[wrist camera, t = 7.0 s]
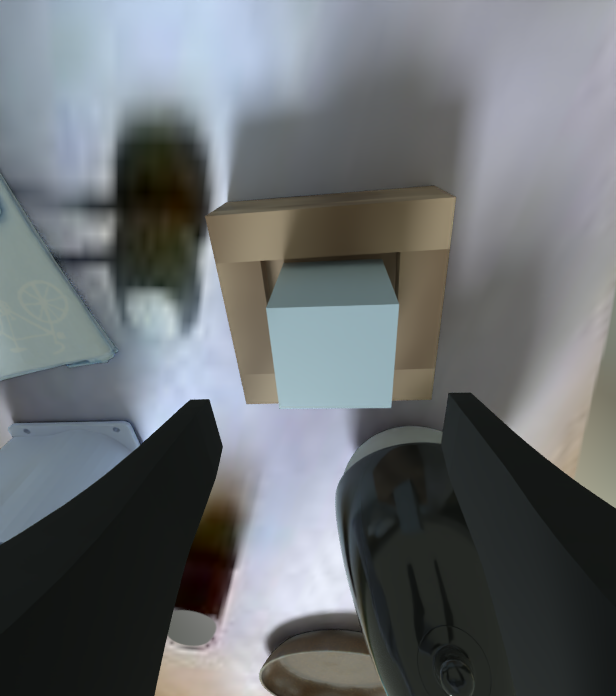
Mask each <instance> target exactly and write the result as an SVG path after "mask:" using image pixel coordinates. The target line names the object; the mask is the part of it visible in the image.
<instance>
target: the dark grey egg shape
mask: <svg viewBox="0 0 616 696" xmlns="http://www.w3.org/2000/svg"><path fill="white" fill-rule="evenodd" d="M442 433H443V432H441V431H439V430H436V429H432V428H427V427H421V426H403V427H397V428H392V429H389V430H386V431H383V432H381V433H378V434H377V435H375V436H373V437H371V438H370V439H368V440H367V441H366V442H364V443H363V444H362V445H361V446H360V447H359V448H358V449H357V450H356V452H355V453H354V454H353V456H352V457H351V459H350V461H349V463H348V465H347V467H346V469H345V472H344V475H343V476H342V478H341V480H340V481H339V484H338V486H337V490H336V496H335V510H336V521H337V528H338V534H339V541H340V546H341V552H342V557H343V562H344V567H345V571H346V575H347V580H348V583H349V587H350V591H351V595H352V598H353V602H354V606H355V609H356V613H357V616H358V620H359V623H360V626H361V630H362V633H363V636H364V639H365V642H366V645H367V648H368V651H369V654H370V657H371V659H372V662H373V664H374V667H375V670H376V672H377V675H378V677H379V679H380V682H381V684H382V686H383V688H384V690H385V693H386V695H387V696H516V692H515V688H514V684H513V680H512V676H511V671H510V667H509V663H508V659H507V655H506V651H505V647H504V643H503V640H502V636H501V632H500V628H499V624H498V621H497V617H496V613H495V609H494V606H493V602H492V598H491V595H490V591H489V588H488V584H487V580H486V577H485V573H484V570H483V567H482V564H481V561H480V558H479V555H478V552H477V549H476V547H475V544H474V542H473V539H472V536H471V534H470V531H469V529H468V526H467V523H466V521H465V518H464V515H463V513H462V510H461V508H460V505H459V502H458V500H457V497H456V494H455V492H454V489H453V486H452V484H451V481H450V478H449V475H448V471H447V467H446V463H445V459H444V455H443V451H442V446H441V440H442Z"/></svg>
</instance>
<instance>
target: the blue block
mask: <svg viewBox="0 0 616 696" xmlns="http://www.w3.org/2000/svg"><path fill="white" fill-rule="evenodd" d="M266 312H267V319H268V327H269V334H270V342H271V349H272V356H273V364H274V371H275V379H276V386H277V394H278V401H279V409H313V408H391V405H392V392H393V378H394V365H395V352H396V339H397V326H398V313H399V302H398V300H397V297H396V295H395V292H394V289H393V287H392V284H391V281H390V279H389V276H388V274H387V271H386V268H385V266H384V263H383V260H382V259H365V260H341V261H316V262H292V263H283V266H282V268H281V271H280V273H279V276H278V279H277V281H276V284H275V286H274V289H273V292H272V294H271V297H270V299H269V302H268V305H267V307H266Z"/></svg>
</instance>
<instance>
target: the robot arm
mask: <svg viewBox="0 0 616 696" xmlns="http://www.w3.org/2000/svg"><path fill="white" fill-rule="evenodd" d="M8 431H9V433H10V434H11V435H12V437H13V438H12V439H11V440H10V441H9V442H7V443H6V444H5V445H4V446H3V447H2V448H1V449H0V696H154V695H155V690H156V685H157V680H158V676H159V671H160V666H161V662H162V657H163V652H164V648H165V643H166V639H167V634H168V630H169V626H170V622H171V618H172V613H173V609H174V605H175V601H176V597H177V593H178V590H179V586H180V582H181V578H182V574H183V571H184V567H185V563H186V560H187V557H188V554H189V551H190V548H191V545H192V542H193V540H194V537H195V534H196V531H197V529H198V526H199V523H200V520H201V518H202V515H203V512H204V509H205V507H206V504H207V501H208V498H209V496H210V493H211V490H212V487H213V484H214V481H215V479H216V475H217V471H218V467H219V462H220V457H221V453H222V448H223V446H222V442H221V439H220V435H219V432H218V428H217V425H216V421H215V418H214V414H213V411H212V407H211V404H210V400H209V399H201V400H190V401H188V402H187V403H186V404H185V405H184V406H183V407H182V408H180V409H179V410H178V411H177V412H176V413H175V414H174V415H173V416H172V417H171V418H170V419H168V420H167V421H166V422H165V423H164V424H163V425H162V426H161V427H160V428H159V429H158V430H156V431H155V432H154V433H153V434H152V435H151V436H150V437H149V438H148V439H147V440H145V441H144V442H143V443H142V444H141V445H140V443H139V441H138V439H137V437H136V435H135V432H134V430H133V428H132V426H131V424H130V423H128V422H126V421H107V422H57V423H14V424H12V425H11V426H10V427H8ZM441 446H442V451H443V455H444V459H445V463H446V467H447V471H448V475H449V478H450V481H451V484H452V486H453V489H454V492H455V494H456V497H457V500H458V502H459V505H460V508H461V510H462V513H463V515H464V518H465V521H466V523H467V526H468V529H469V531H470V534H471V536H472V539H473V542H474V544H475V547H476V549H477V552H478V555H479V558H480V561H481V564H482V567H483V570H484V573H485V577H486V580H487V584H488V588H489V591H490V595H491V598H492V602H493V606H494V609H495V613H496V617H497V621H498V624H499V628H500V632H501V636H502V640H503V643H504V647H505V651H506V655H507V659H508V663H509V667H510V671H511V676H512V680H513V684H514V688H515V692H516V696H616V508H614V507H613V506H611V505H610V504H608V503H607V502H605V501H604V500H602V499H601V498H599V497H598V496H596V495H595V494H593V493H592V492H591V491H589V490H588V489H586V488H585V487H583V486H582V485H580V484H579V483H578V482H576V481H575V480H574V479H572V478H571V477H569V476H568V475H567V474H565V473H564V472H563V471H561V470H560V469H559V468H558V467H556V466H555V465H554V464H552V463H551V462H550V461H549V460H547V459H546V458H545V457H543V456H542V455H541V454H540V453H539V452H537V451H536V450H535V449H534V448H532V447H531V446H530V445H529V444H528V443H526V442H525V441H524V440H523V439H522V438H521V437H519V436H518V435H517V434H516V433H515V432H514V431H512V430H511V429H510V428H509V427H508V426H507V425H506V424H505V423H503V422H502V421H501V420H500V419H499V418H498V417H497V416H496V415H495V414H493V413H492V412H491V411H490V410H489V409H488V408H487V407H486V406H485V405H484V404H483V403H481V402H480V401H479V400H478V399H477V398H476V397H475V396H474V395H473V394H472V393H449V394H448V400H447V407H446V414H445V420H444V427H443V433H442V440H441Z"/></svg>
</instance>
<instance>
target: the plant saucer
mask: <svg viewBox="0 0 616 696" xmlns="http://www.w3.org/2000/svg"><path fill="white" fill-rule="evenodd" d="M259 679H260V682H261V684H262V685H263V686H264V688H265V689H266V690H267V691H268V692H270V693H271V694H272V695H274V696H387V695H386V693H385V690H384V688H383V686H382V684H381V682H380V679H379V677H378V675H377V672H376V670H375V667H374V664H373V662H372V659H371V657H370V654H369V651H368V648H367V645H366V642H365V639H364V636H363V633H362V632H356V631H349V630H319V631H312V632H306V633H302V634H299V635H296V636H294V637H292V638H290V639H288V640H286V641H285V642H284V643H282V644H281V645H280V646H279V647H278V648H277V649H275V650H274V652H273V653H272V654H271V655H270V656H269V658H268V659H267V660H266V662H265V663H264V665H263V667H262V669H261V670H260V673H259Z"/></svg>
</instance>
